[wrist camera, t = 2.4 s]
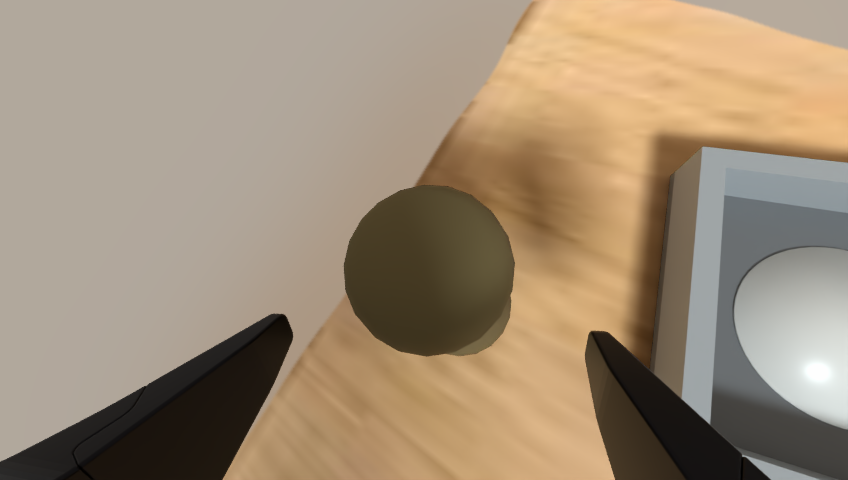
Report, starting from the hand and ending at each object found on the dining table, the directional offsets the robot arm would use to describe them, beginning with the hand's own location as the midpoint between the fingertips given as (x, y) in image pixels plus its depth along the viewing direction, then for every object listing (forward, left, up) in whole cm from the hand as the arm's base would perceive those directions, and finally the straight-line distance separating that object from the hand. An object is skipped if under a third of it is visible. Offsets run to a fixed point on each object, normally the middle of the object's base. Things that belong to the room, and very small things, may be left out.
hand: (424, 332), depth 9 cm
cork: (+2, 0, -9) cm, 10 cm away
